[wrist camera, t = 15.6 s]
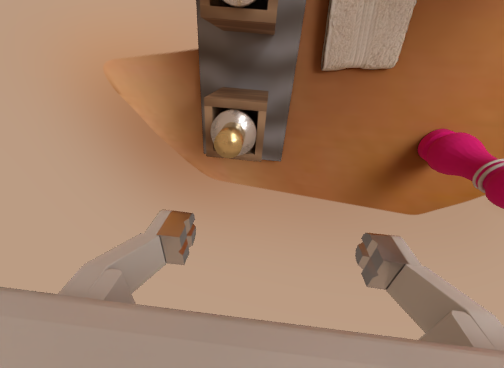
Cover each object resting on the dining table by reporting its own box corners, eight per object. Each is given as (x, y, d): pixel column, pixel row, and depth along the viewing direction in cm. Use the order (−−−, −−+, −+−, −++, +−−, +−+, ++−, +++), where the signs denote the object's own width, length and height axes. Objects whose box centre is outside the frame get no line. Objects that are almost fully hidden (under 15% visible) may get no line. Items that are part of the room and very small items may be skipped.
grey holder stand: (194, -94, 27) (138, -208, 16) (318, -86, 27) (354, -198, 15) (205, 150, 45) (182, 182, 33) (280, 158, 44) (283, 193, 33)
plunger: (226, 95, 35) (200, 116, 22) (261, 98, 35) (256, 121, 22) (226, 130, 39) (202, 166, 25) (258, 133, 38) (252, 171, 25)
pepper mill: (411, 164, 43) (506, 235, 25) (417, 130, 39) (530, 185, 22) (452, 158, 41) (580, 228, 24) (461, 122, 38) (619, 174, 21)
